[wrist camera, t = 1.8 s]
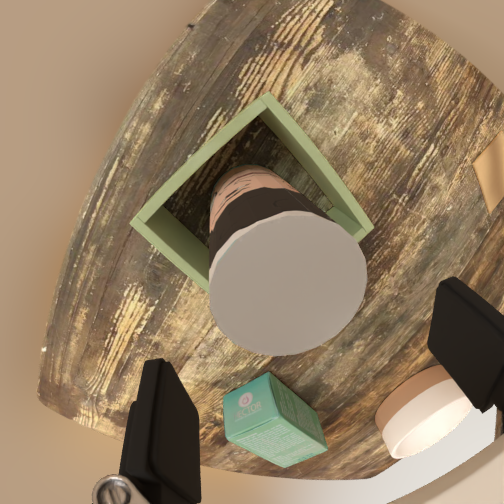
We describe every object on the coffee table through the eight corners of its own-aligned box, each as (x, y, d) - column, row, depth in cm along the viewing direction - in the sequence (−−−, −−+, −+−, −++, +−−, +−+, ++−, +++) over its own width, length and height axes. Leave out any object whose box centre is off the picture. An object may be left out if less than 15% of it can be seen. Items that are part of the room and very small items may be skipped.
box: (267, 368, 34) (279, 417, 27) (317, 409, 39) (330, 449, 32) (220, 393, 35) (223, 441, 28) (275, 430, 40) (284, 469, 33)
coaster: (500, 130, 25) (502, 130, 25) (514, 178, 28) (516, 179, 28) (471, 163, 26) (474, 164, 26) (488, 212, 29) (490, 213, 29)
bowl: (362, 408, 41) (380, 447, 33) (448, 347, 39) (475, 380, 31) (386, 435, 48) (400, 465, 40) (454, 388, 45) (473, 415, 38)
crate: (255, 99, 22) (268, 90, 17) (344, 206, 27) (375, 227, 21) (146, 201, 24) (128, 223, 19) (244, 292, 29) (252, 330, 24)
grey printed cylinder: (301, 186, 26) (394, 259, 12) (264, 250, 28) (311, 369, 14) (233, 149, 24) (262, 181, 10) (196, 219, 26) (182, 328, 12)
